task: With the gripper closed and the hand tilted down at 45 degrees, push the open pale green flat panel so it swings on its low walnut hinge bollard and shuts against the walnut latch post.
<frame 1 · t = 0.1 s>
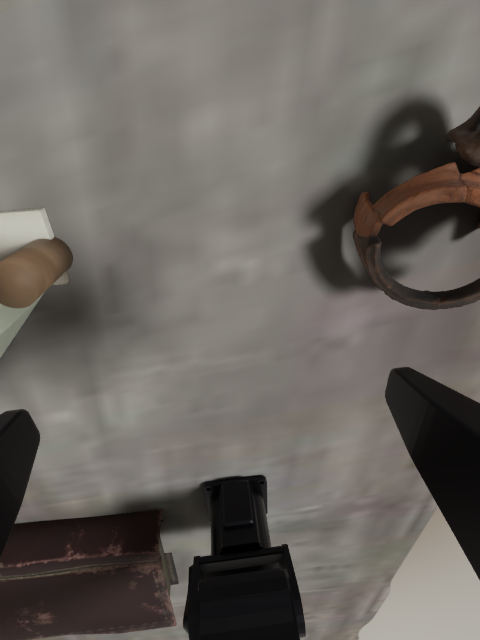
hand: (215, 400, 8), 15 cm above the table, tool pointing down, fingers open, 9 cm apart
gate frame: (52, 254, 20), on the table
diary: (67, 555, 39), on the table
brown looped band: (424, 193, 21), on the table
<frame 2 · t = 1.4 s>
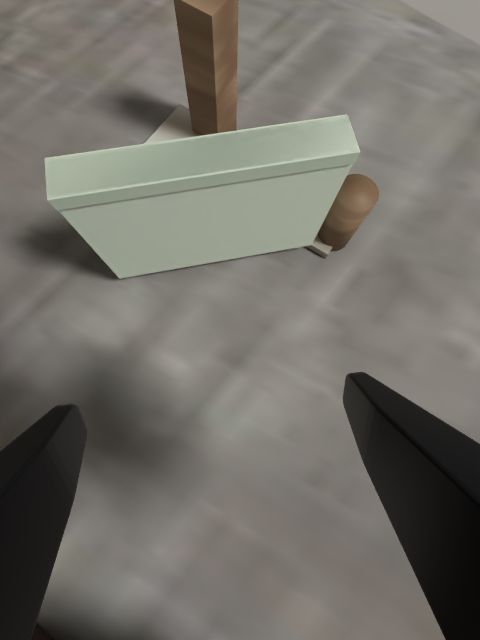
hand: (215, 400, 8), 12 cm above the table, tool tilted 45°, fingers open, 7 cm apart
gate frame: (331, 235, 23), on the table
pale green flat panel: (211, 213, 18), point 5 cm above the table, hinge at 45.0°
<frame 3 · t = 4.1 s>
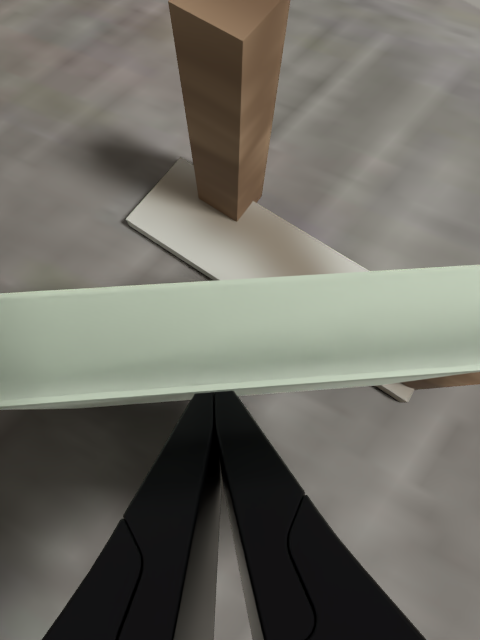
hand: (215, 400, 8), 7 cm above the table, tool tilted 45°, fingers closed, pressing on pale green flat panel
gate frame: (408, 364, 15), on the table
pale green flat panel: (230, 362, 10), point 5 cm above the table, hinge at 38.4°, touching gripper
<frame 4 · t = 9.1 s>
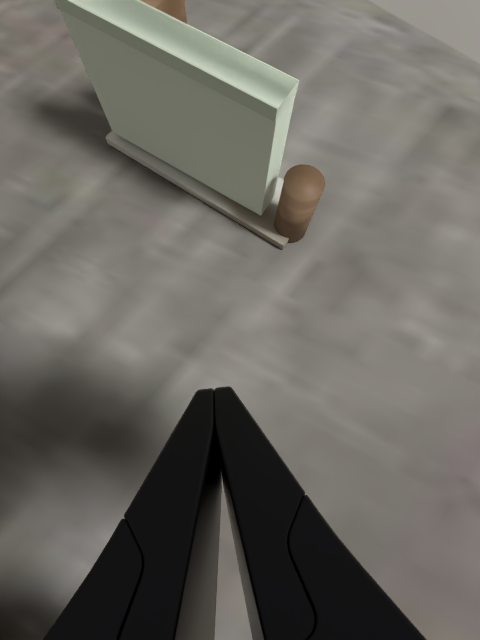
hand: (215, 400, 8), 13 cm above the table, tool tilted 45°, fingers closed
gate frame: (289, 227, 24), on the table
pale green flat panel: (183, 112, 19), point 5 cm above the table, hinge at 1.6°
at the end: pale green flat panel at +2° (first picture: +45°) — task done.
